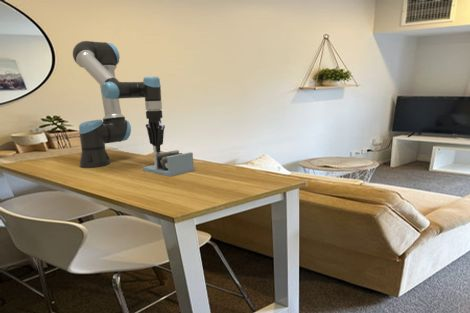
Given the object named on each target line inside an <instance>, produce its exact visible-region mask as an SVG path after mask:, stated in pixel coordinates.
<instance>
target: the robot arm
mask: <svg viewBox="0 0 470 313" xmlns="http://www.w3.org/2000/svg"><path fill="white" fill-rule="evenodd" d="M72 57H73V60H74V63H76V64H77V66H78V67H81V68H82V69H83V68H84V70H85V71H86V72H87V73H88V74H89V75H90V76H91V77H92V78H93V79H94V80H95V81H96V82H97V83H98V84H99V86H100V87H99V88H100V92H101V99H102V105H103V106H102V107H103V112H104V116H103V118H102V119H94V120H88V121H84V122H81V123H80V124H79V125H78V126H79V127H78V130H79V131H78V134H79V140H80V146H81V154H80V159H79V167H81V168H97V167H99V168H100V167H103V166H108V165H110V164H111V159H110V157H109V154H108V153H107V150H106V144H112V143H119V142H120V143H121V142H125V141H127V140H128V139H129V138H130V136H131V132H132V127H131V123H130V122H129V120H127V119H126V117H125V115H123V114H122V109H121V103H120V100H121V99H140V98H143V99H144V102H145V103H144V104H145V110H146V111H145V115H146V116H145V118H146V120H148V123H147V124H145V127H146V128H145V129H146V130H147V136H148V141H149V144H150V145H152V150H153V155H154V154H158V153H161V146H162V145H164V137H165V136H164V135H165V127H166V125H164V124H162V120H161V119H162V118H163V111H162V109H163V103H162V90H161V89H162V88H161V86H162V84H161V82H160V80H161V78H159V77H158V76H144V77H143V80H142V81H120V80H119V79H117V78H116V73H115V70H116V68H117V65H118V64H119V62H120V52H119V50H118V48H117V47H116V45H114V44H113V43H109V42H107V41H105V42H104V41H102V42H101V41H93V40H92V41H90V40H83V41H80V42H78V43H77V44H76V45H75V46H74V47H73V50H72Z"/></svg>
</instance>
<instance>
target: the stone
mask: <svg viewBox="0 0 470 313" xmlns="http://www.w3.org/2000/svg"><path fill="white" fill-rule="evenodd" d="M179 154H184V153H182V152H179ZM179 154H174V155H179ZM174 155H170V156H174ZM167 157H169V156H166V157H163V158H162V159H161V161H160V162H161V165H162V167H163V169H165V170H167V169H168V161H167Z"/></svg>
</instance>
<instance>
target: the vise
mask: <svg viewBox="0 0 470 313" xmlns="http://www.w3.org/2000/svg"><path fill="white" fill-rule="evenodd" d="M167 161H168V169H167V170H165V169H158V170H156V169H155V164H151V165H147V166H142V168H141V170H142V171H143V170H144V172H148V173H153V174H158V175H162V176H166V177H174V176H178V175H182V174H186V173H191V172H194V170H195V167H194V153H193V152H185V153H183V154H179V155H174V156H169V157H167ZM190 171H191V172H190Z"/></svg>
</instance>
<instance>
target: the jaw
mask: <svg viewBox="0 0 470 313" xmlns="http://www.w3.org/2000/svg"><path fill="white" fill-rule="evenodd" d="M179 153H180V150H179V149H175V150H171V151H165V152H164V151H163V152H160V153H158V154H154V153H153V158H154V159H153V162H154V165H155V169H156V170H158V169H163V167H162V165H161V162H160V161H161V159H162V158H163V157H166V156H170V155H174V154H179Z"/></svg>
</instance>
